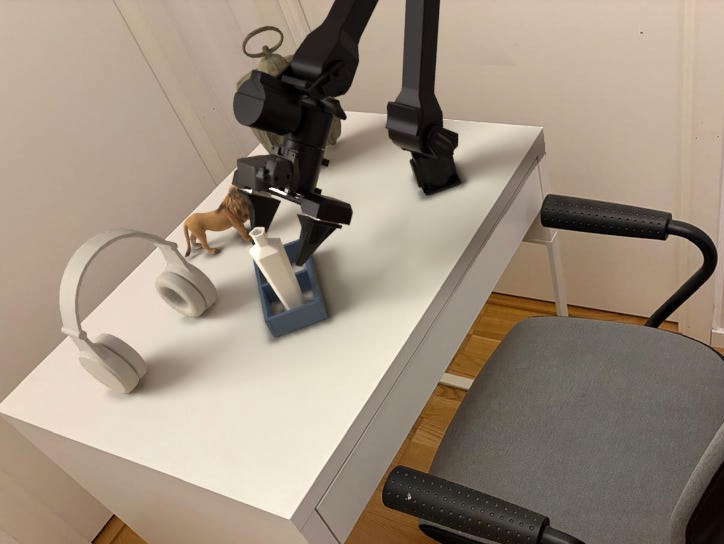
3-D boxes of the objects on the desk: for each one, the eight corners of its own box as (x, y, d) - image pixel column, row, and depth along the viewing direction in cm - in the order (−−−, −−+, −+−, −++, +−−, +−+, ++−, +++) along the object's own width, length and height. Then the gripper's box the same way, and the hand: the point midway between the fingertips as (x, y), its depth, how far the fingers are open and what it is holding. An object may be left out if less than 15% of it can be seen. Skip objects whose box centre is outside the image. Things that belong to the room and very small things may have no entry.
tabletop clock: (339, 136, 139) (289, 3, 121) (358, 156, 134) (309, 20, 115) (269, 170, 136) (207, 38, 118) (286, 192, 130) (223, 57, 112)
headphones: (190, 292, 117) (123, 193, 103) (228, 304, 113) (165, 203, 99) (98, 387, 107) (11, 291, 92) (138, 402, 103) (53, 306, 89)
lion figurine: (265, 215, 127) (243, 172, 120) (273, 232, 124) (251, 187, 117) (183, 251, 124) (156, 209, 118) (189, 269, 121) (162, 226, 114)
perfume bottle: (284, 302, 111) (242, 224, 100) (312, 296, 111) (273, 218, 100) (281, 324, 108) (237, 246, 97) (310, 318, 108) (269, 239, 97)
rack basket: (310, 254, 118) (302, 237, 115) (328, 318, 107) (319, 301, 105) (261, 272, 117) (252, 255, 115) (274, 338, 107) (264, 321, 104)
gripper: (211, 114, 97) (186, 229, 101) (305, 146, 88) (274, 271, 91) (277, 134, 107) (252, 239, 110) (369, 165, 97) (338, 278, 101)
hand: (276, 255), depth 103 cm, fingers open, 9 cm apart
